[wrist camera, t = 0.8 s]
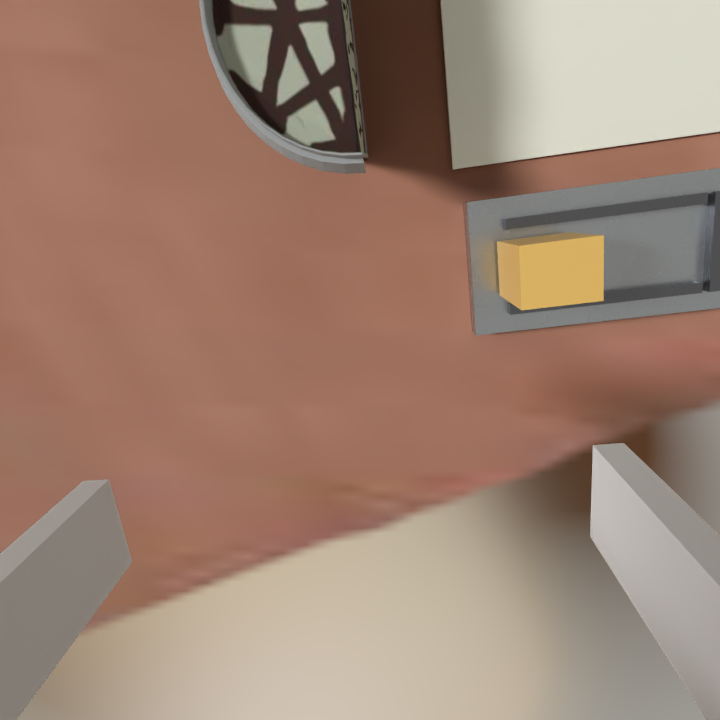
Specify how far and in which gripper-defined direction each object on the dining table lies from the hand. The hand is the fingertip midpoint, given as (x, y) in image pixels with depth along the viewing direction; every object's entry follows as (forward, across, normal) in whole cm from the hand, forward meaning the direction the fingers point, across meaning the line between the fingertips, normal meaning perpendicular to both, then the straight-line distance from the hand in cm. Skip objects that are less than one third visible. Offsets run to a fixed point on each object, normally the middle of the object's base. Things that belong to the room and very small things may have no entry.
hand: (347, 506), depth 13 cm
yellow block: (+18, +10, +4) cm, 21 cm away
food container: (+20, -2, +16) cm, 26 cm away
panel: (+20, +14, +4) cm, 25 cm away
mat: (+20, +15, +17) cm, 30 cm away
